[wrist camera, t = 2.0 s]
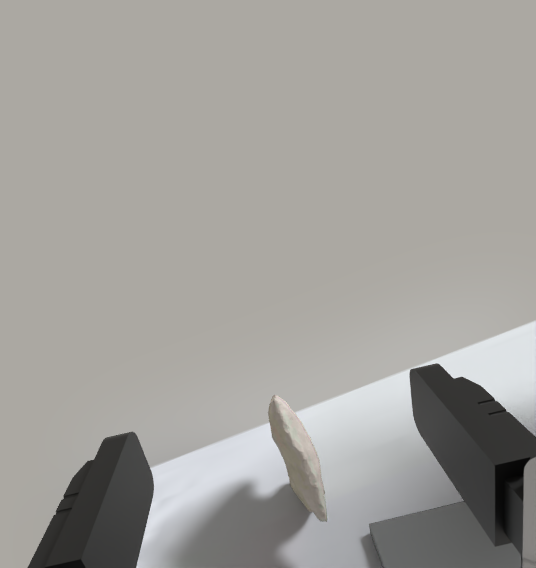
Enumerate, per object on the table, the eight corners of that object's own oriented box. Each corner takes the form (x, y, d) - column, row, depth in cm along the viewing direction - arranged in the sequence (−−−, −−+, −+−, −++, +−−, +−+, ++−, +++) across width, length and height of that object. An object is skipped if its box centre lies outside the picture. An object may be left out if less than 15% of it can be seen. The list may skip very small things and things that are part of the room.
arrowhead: (275, 471, 31) (247, 367, 27) (304, 459, 31) (280, 355, 28) (315, 565, 23) (284, 439, 20) (352, 547, 24) (328, 421, 20)
